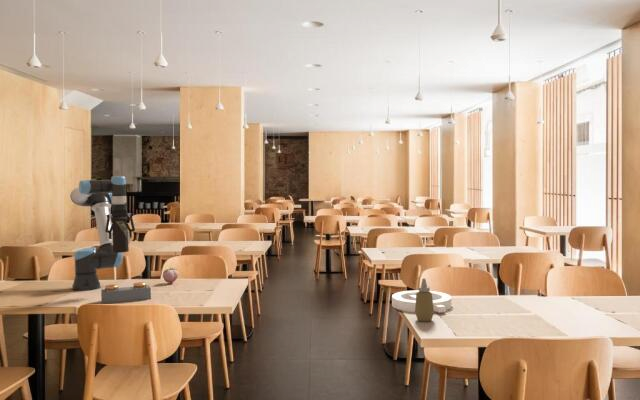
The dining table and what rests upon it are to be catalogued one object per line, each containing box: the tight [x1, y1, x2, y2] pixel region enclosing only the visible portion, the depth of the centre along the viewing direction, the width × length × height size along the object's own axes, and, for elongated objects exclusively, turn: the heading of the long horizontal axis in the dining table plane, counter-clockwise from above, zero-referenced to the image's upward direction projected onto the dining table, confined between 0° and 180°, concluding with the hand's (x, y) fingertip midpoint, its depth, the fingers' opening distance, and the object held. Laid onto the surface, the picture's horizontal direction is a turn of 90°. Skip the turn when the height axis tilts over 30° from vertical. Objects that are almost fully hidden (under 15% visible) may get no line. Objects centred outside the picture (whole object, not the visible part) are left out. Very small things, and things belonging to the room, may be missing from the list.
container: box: [111, 216, 129, 253], centre depth 302 cm, size 9×9×20 cm
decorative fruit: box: [162, 267, 179, 284], centre depth 328 cm, size 9×8×10 cm
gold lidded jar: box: [132, 281, 147, 289], centre depth 286 cm, size 6×6×7 cm
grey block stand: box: [100, 284, 152, 304], centre depth 284 cm, size 24×8×6 cm, turn 114°
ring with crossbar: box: [391, 289, 452, 313], centre depth 259 cm, size 28×28×5 cm
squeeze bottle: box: [414, 278, 435, 323], centre depth 232 cm, size 8×8×18 cm
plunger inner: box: [104, 284, 119, 291], centre depth 281 cm, size 6×6×7 cm
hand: (120, 244), depth 303 cm, fingers closed on container, 8 cm apart
